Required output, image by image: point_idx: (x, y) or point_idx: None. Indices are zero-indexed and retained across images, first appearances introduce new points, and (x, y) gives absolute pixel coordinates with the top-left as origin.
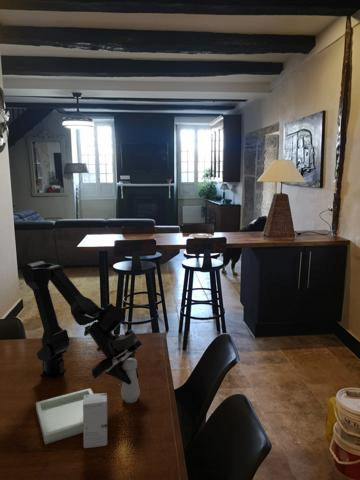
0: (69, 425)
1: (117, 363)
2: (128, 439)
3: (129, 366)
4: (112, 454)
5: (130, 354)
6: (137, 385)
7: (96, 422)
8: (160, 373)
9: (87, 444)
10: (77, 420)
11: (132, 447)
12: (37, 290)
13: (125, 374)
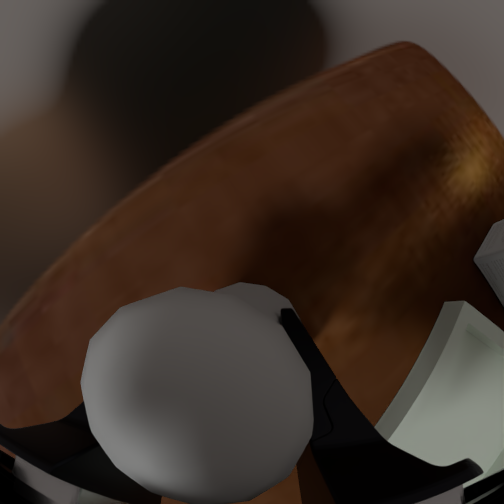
0: (499, 392)
1: (458, 483)
2: (444, 179)
3: (294, 352)
4: (496, 188)
5: (59, 477)
6: (229, 291)
7: None
8: (33, 319)
9: None
10: (477, 397)
11: (452, 151)
12: None
13: (314, 372)
